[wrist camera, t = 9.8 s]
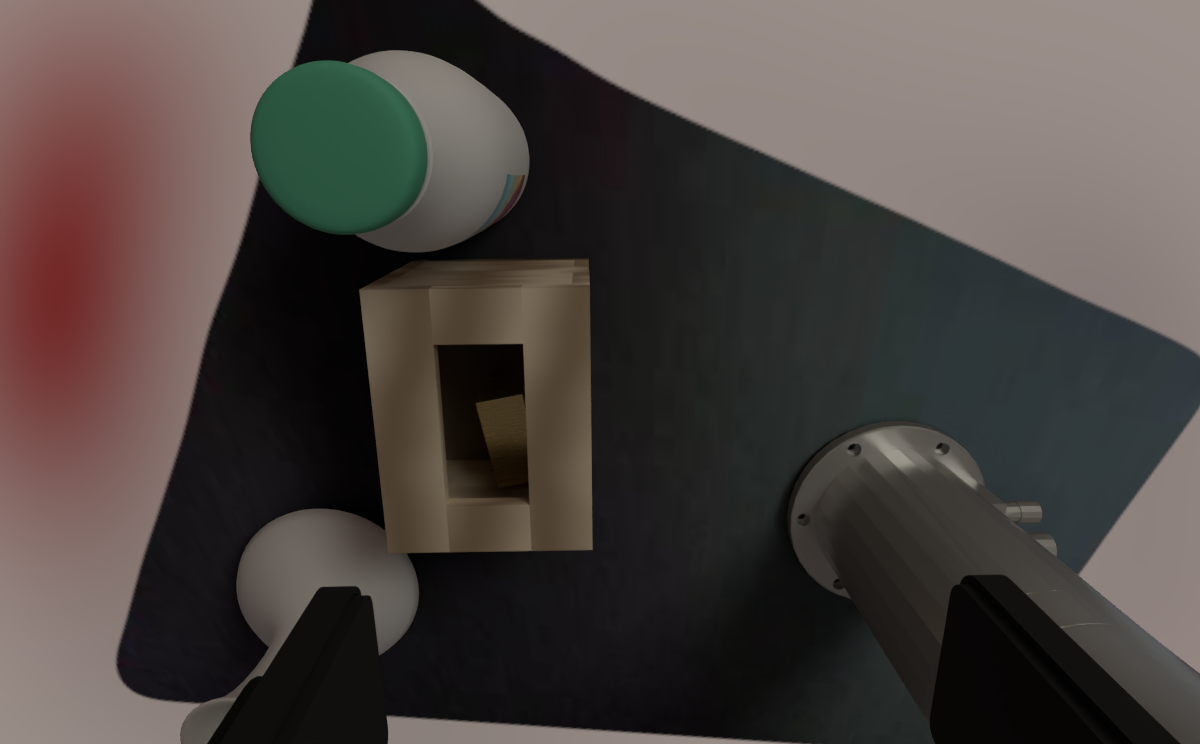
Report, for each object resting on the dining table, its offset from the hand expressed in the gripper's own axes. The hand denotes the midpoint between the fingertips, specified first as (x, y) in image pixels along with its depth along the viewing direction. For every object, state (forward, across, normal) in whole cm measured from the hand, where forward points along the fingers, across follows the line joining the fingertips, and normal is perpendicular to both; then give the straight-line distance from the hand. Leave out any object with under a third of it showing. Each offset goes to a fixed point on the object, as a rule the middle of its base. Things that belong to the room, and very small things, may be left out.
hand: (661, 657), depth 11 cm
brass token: (+27, +6, +4) cm, 28 cm away
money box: (+30, +6, +4) cm, 31 cm away
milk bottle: (+31, +8, -8) cm, 33 cm away
